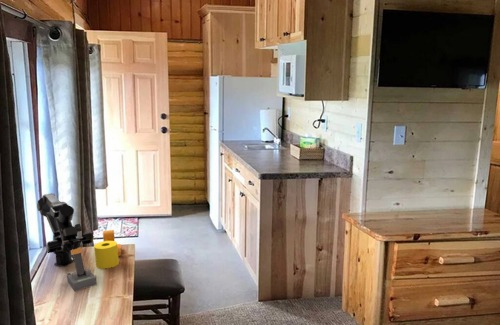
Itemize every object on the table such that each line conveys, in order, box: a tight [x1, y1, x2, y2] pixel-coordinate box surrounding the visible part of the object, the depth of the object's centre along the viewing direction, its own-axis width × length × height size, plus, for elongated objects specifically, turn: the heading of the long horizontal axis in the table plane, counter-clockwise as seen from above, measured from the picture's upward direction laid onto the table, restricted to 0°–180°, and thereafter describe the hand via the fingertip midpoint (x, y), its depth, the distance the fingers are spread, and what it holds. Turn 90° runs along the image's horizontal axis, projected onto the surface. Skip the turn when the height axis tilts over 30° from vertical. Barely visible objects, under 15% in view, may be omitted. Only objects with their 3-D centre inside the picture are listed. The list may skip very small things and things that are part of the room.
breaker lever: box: [71, 247, 85, 277], centre depth 188 cm, size 2×4×11 cm, turn 125°
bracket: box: [102, 229, 122, 257], centre depth 218 cm, size 11×7×12 cm, turn 14°
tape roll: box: [93, 240, 120, 270], centre depth 206 cm, size 10×10×9 cm
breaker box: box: [66, 268, 98, 292], centre depth 188 cm, size 10×9×5 cm
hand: (75, 259), depth 191 cm, fingers closed
